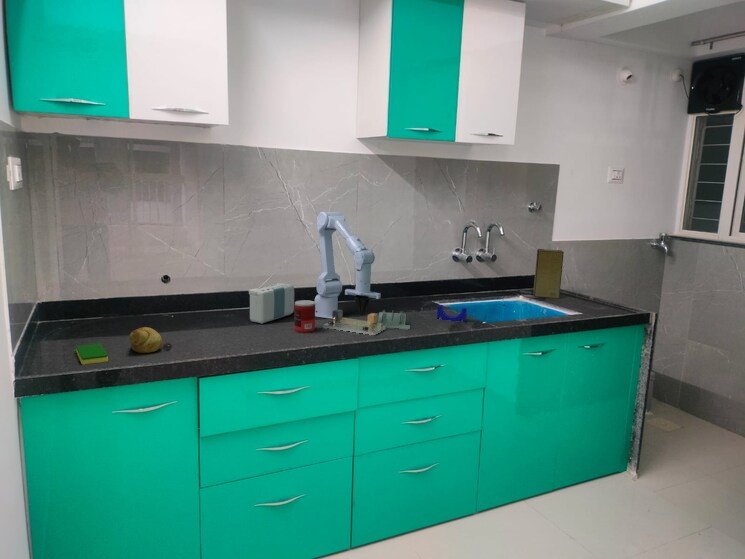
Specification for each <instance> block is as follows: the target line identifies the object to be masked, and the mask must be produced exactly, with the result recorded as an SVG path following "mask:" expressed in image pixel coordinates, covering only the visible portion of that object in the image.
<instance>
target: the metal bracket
mask: <svg viewBox="0 0 745 559" xmlns="http://www.w3.org/2000/svg"><path fill="white" fill-rule="evenodd" d="M406 315H407V314H406V313H403V312H402V311H400V312H399V313H398V312H394V310H392V312H386V310H385V309H383V311H380V312H378V320H377V323H383V325H384V326H387V328H386V329H394V328H399V330H408V329H409V330H410V329H411V325H410V324H408V325H407V324H406V317H407V316H406Z"/></svg>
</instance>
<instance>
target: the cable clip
mask: <svg viewBox="0 0 745 559" xmlns="http://www.w3.org/2000/svg"><path fill="white" fill-rule="evenodd" d="M467 310H468V307H462V309H461V312H460V313H459V314H457V315H452V316H451V315H449V314H447V313H446V312H445V311H444V308H443V304H438V305H437V312H436V320H437V319H439V318H441V319H442V320H441V321H446V320H451V321H450V322H455V321H461V320H462V319H463V322H465V321H466V322H467V317H468V314H467ZM463 322H462V323H463ZM466 322H465V323H466Z"/></svg>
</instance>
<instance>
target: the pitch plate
mask: <svg viewBox="0 0 745 559" xmlns="http://www.w3.org/2000/svg"><path fill="white" fill-rule="evenodd" d="M343 313H344V311H343V309H339V308H337V309H336V310H334V311H333V313H332V319H331V320H329V321H328V322H326V323H324V324H322V328H323V329H327V328H329V329H328V330H333V329H336V330H335V331H340V330H343V331H342V332H346V331H350V332H349V333H352V332H356V333H355V334H359V333H363V334H362V335H365V334H369V335H368V336H371V335H375V336H377V335H378V333H379V334H380V333H382V332H383V330H384V331H385V330H387V329H388V328H387V326H384V325H383V323H378V321H377V322H375V323H371V327H369V323H368V320H362V319H355V318H349V317H343V316H344V315H343ZM381 331H382V332H381ZM376 334H377V335H376Z"/></svg>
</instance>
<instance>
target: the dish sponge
mask: <svg viewBox="0 0 745 559" xmlns="http://www.w3.org/2000/svg"><path fill="white" fill-rule="evenodd" d="M75 348H76V350H75V351H76V355H77V357H78V359H79V361H80V363H81V365H83V366H84V365H91V364H99V363H106V362H108V361H109V358H108V357H109V356H108V353H107V351H106V349H105V348H104V346H103V345H102V343H95V344H93V343H92V344H87V345H76V346H75Z"/></svg>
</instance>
